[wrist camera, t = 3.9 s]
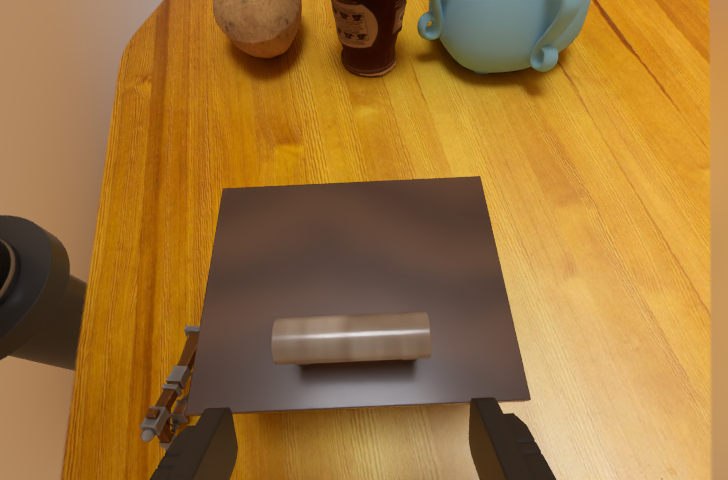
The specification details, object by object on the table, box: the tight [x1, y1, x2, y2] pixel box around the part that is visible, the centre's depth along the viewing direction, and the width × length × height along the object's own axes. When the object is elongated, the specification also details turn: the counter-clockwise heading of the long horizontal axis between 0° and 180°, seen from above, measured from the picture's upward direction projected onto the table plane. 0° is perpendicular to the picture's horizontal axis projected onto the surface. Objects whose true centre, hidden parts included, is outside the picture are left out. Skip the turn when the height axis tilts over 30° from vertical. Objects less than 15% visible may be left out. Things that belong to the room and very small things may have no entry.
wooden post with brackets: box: [140, 326, 200, 451], centre depth 26 cm, size 2×8×4 cm, turn 177°
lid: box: [186, 176, 531, 416], centre depth 18 cm, size 12×16×5 cm
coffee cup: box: [331, 0, 406, 76], centre depth 38 cm, size 9×8×13 cm
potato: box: [213, 0, 302, 58], centre depth 42 cm, size 10×14×8 cm
